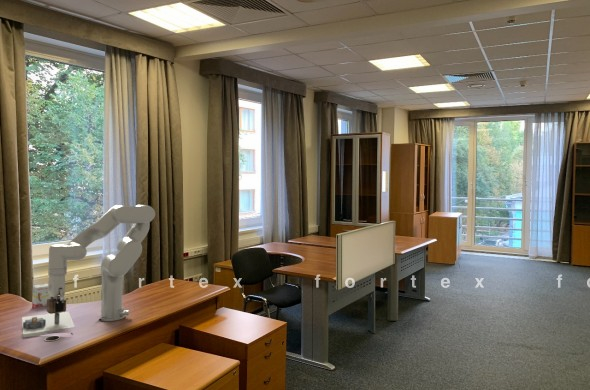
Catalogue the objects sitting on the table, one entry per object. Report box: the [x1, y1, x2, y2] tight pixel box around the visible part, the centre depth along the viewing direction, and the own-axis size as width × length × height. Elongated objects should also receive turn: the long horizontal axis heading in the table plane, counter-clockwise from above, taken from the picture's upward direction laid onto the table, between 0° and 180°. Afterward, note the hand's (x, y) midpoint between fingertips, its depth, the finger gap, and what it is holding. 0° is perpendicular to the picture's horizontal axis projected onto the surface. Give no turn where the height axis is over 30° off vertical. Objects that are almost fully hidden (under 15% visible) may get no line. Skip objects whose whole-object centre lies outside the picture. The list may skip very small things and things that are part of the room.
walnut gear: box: [46, 297, 67, 314], centre depth 200 cm, size 8×8×6 cm
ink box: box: [31, 283, 51, 309], centre depth 228 cm, size 9×5×12 cm, turn 140°
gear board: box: [21, 310, 76, 339], centre depth 202 cm, size 26×20×6 cm
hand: (56, 309), depth 200 cm, fingers closed on walnut gear, 7 cm apart
